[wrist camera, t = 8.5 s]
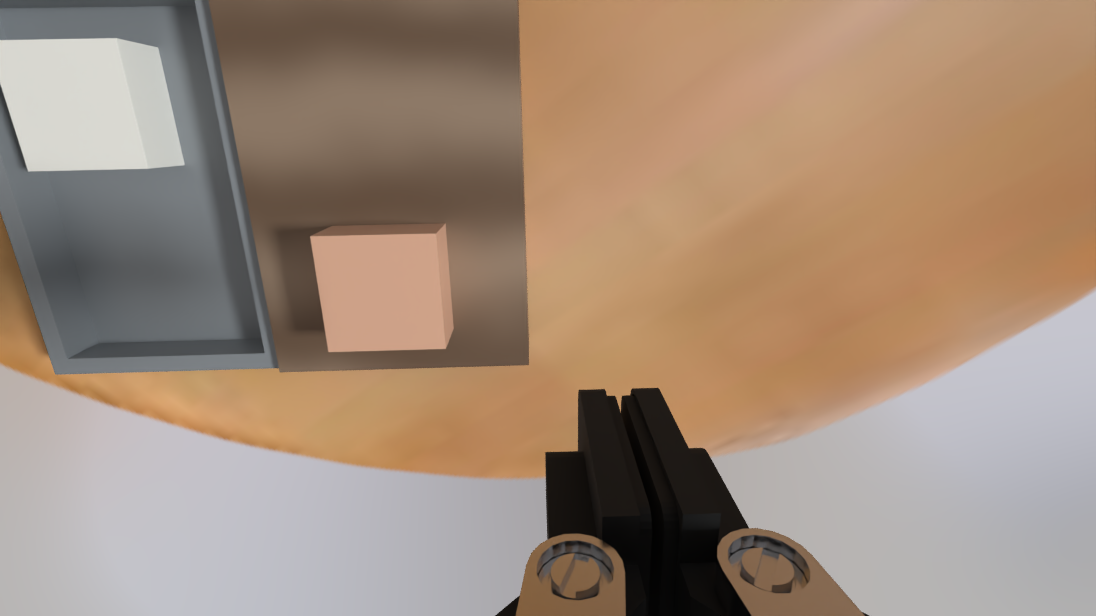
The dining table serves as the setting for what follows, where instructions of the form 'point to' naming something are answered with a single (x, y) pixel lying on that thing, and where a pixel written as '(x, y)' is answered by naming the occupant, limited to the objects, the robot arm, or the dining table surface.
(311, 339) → the walnut board
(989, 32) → the dining table surface
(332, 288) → the terracotta tile
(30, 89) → the white block
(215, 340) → the box
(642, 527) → the robot arm
